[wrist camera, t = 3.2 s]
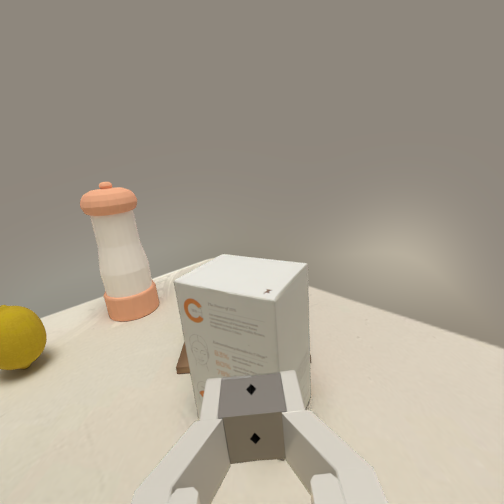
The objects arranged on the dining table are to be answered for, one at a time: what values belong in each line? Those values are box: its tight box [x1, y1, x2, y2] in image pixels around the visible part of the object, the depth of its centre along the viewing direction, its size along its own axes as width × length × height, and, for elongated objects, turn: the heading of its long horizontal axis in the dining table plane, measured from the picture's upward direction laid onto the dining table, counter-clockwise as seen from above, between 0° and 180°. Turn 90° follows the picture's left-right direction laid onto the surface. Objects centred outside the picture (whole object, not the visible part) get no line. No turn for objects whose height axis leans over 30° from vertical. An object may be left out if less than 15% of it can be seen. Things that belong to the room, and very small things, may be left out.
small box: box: [174, 254, 311, 460], centre depth 22 cm, size 8×6×13 cm
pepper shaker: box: [80, 182, 159, 321], centre depth 40 cm, size 7×7×19 cm
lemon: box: [0, 305, 46, 370], centre depth 31 cm, size 6×6×8 cm
